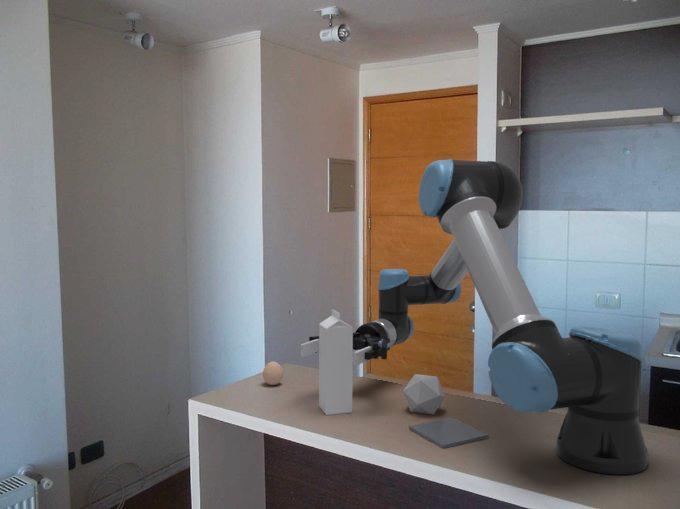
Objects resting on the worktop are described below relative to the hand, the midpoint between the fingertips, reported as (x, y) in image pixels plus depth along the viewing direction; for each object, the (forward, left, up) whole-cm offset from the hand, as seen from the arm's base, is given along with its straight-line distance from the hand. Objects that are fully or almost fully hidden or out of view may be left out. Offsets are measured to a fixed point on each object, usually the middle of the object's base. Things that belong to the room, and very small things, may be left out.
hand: (327, 354), depth 132 cm
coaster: (-21, -16, -13) cm, 30 cm away
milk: (+2, -3, -13) cm, 14 cm away
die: (-8, -19, -13) cm, 25 cm away
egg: (+26, +2, -13) cm, 29 cm away
